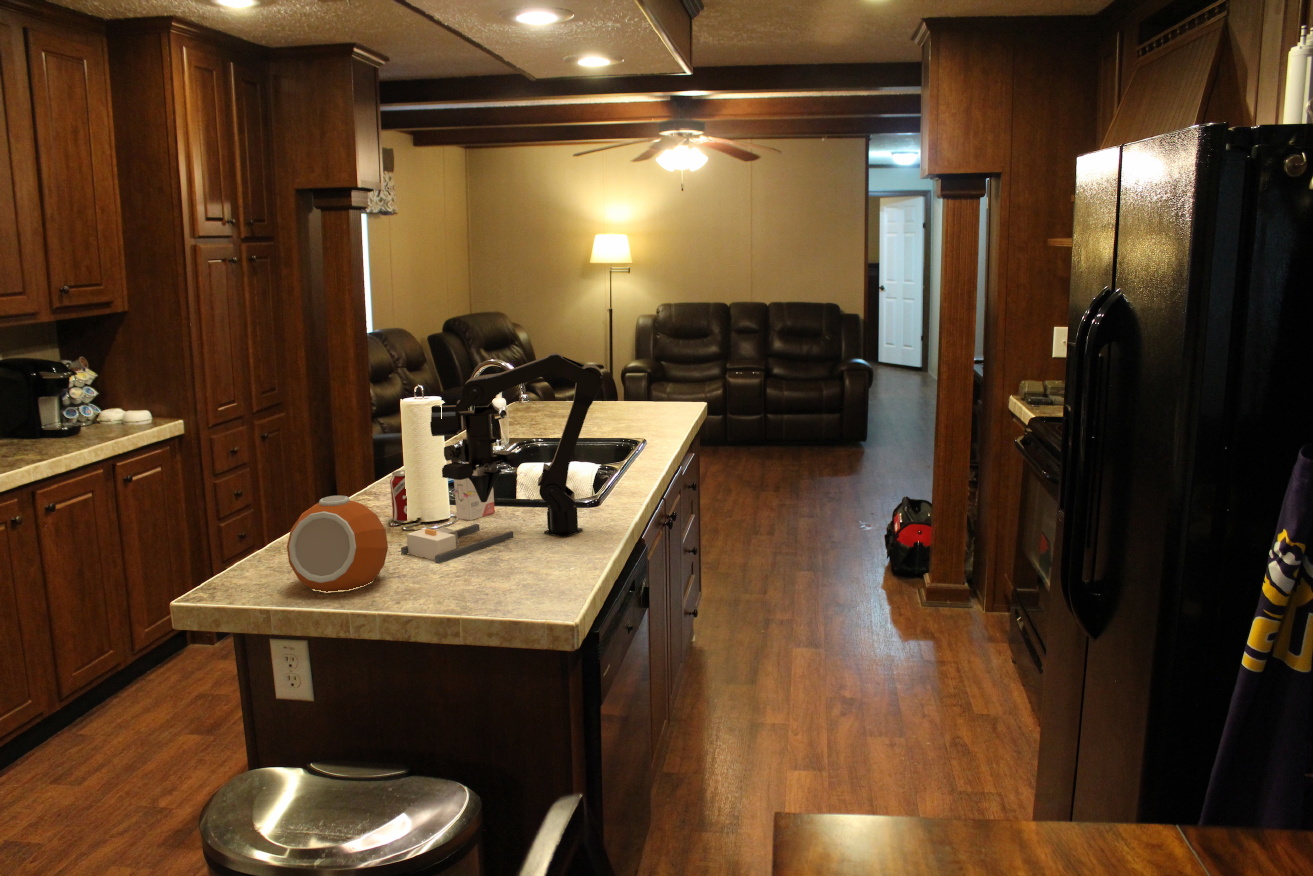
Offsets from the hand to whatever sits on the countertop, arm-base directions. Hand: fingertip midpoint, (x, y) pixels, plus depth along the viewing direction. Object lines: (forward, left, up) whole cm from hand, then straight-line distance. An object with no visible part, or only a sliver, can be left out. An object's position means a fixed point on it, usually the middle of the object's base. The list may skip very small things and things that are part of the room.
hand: (483, 502), depth 232 cm
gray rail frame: (0, +8, -8) cm, 12 cm away
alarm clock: (+1, +38, -8) cm, 39 cm away
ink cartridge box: (+16, -12, -8) cm, 21 cm away
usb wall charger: (0, +11, -8) cm, 14 cm away
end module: (0, +16, -8) cm, 18 cm away
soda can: (+27, 0, -8) cm, 28 cm away
